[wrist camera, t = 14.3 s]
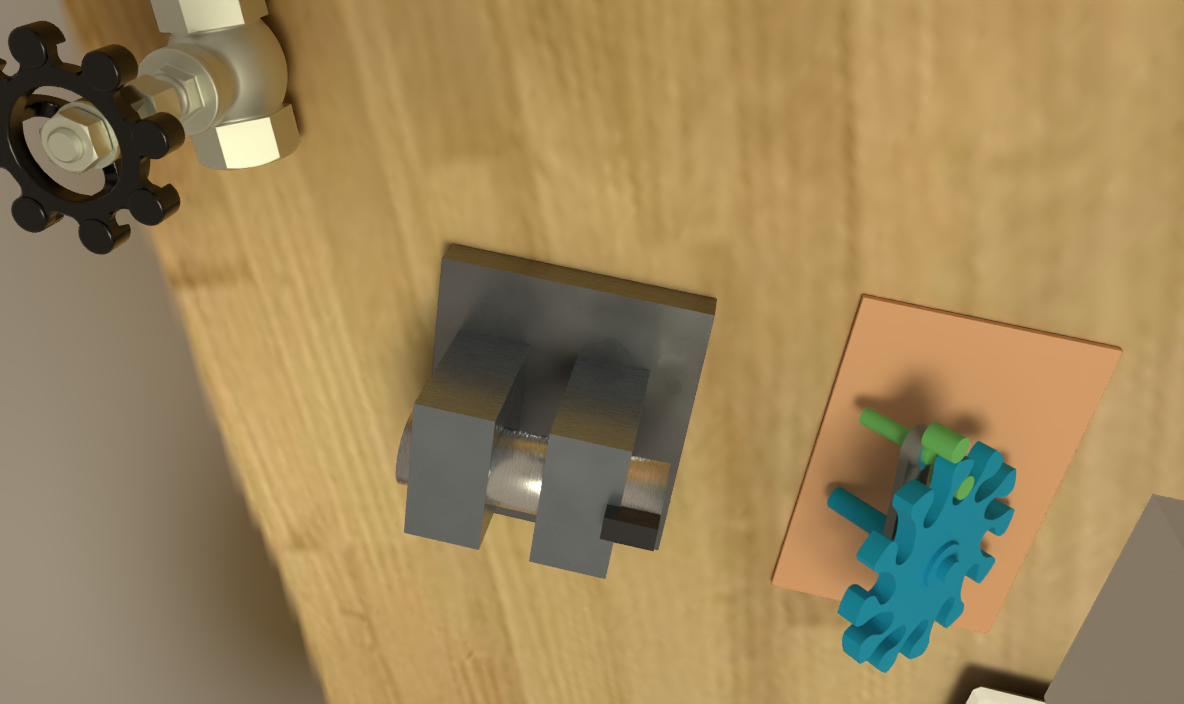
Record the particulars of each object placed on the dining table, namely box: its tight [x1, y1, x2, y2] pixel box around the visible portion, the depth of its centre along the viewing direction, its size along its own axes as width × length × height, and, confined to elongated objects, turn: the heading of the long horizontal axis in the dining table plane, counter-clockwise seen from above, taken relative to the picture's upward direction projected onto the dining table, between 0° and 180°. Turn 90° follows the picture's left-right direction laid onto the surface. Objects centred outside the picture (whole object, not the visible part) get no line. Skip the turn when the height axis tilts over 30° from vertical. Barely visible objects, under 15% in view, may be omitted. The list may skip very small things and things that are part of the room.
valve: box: [0, 0, 301, 254], centre depth 34 cm, size 7×7×12 cm
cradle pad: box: [771, 294, 1123, 634], centre depth 43 cm, size 15×10×1 cm, turn 171°
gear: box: [827, 408, 1016, 673], centre depth 41 cm, size 11×6×10 cm
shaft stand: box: [396, 244, 717, 579], centre depth 40 cm, size 12×11×8 cm
